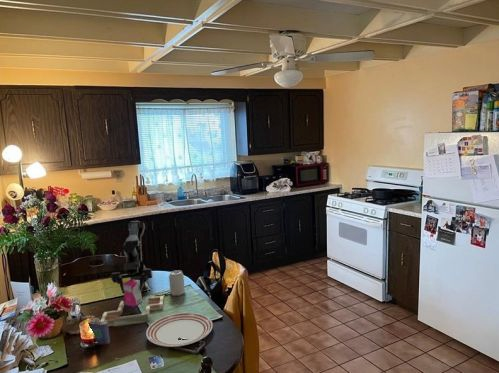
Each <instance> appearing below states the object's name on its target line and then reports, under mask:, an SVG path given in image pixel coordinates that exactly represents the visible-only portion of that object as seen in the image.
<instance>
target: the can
mask: <svg viewBox="0 0 499 373" xmlns="http://www.w3.org/2000/svg"><path fill="white" fill-rule="evenodd" d="M184 277H185V276H184V273H183V271H182V270H180V269H179V270H172V271H170V272H169V275H168V282H169V291H170V295H172V296H173V297H179V296H182V295H183V294H185V292H186V288H185V278H184Z"/></svg>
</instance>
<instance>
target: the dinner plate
mask: <svg viewBox="0 0 499 373" xmlns="http://www.w3.org/2000/svg"><path fill="white" fill-rule="evenodd" d="M213 327H214V326H213V321H212V320H211V319H210V318H209V316H207V315H204V314H202V313H197V312H178V313H172V314H169V315H165V316H163V317H160V318H158V319H156V320H154V322H152V323H151V324H150V325H149V326H148V328H147V329H146V333H145V335H146V336H145V337H146V338H147V339H148V341H149V342H150V343H153V344H155V345H156V346H161V347H166V348H167V347H168V348H171V347H172V348H174V347H175V348H177V347H183V346H187V345H191V344H194V343H196V342H198V341H201V340H202V339H204V338H206V337H207V336H208V335H209V334H210V333H211V331H212V329H213ZM179 337H180V338H186V339H189V340H182V339H181V340H178V338H179Z"/></svg>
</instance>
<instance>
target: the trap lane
mask: <svg viewBox="0 0 499 373" xmlns="http://www.w3.org/2000/svg"><path fill="white" fill-rule="evenodd" d="M147 299H148V300H147V301H148V304H146V307H145V308H146V309H145V313H139V314H138V313H137V314H132V315H125V316H122V314H123V311H124V308H125V300H120V302H119V305H118V308H117V310H110V311H104V312H103V314H102V317H101V318H100V320H99V321H100V322H108V327H121V326H127V325H134V324H141V323H149V322H148V321H149V320H150V316H151V311H150V310H152V311H157V309H159V310H164V302H165V300H164V299H165V298H164V295H157V296H148V298H147Z"/></svg>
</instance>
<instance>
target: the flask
mask: <svg viewBox="0 0 499 373" xmlns="http://www.w3.org/2000/svg"><path fill="white" fill-rule="evenodd" d="M100 321H101V318H100V317H97V318H94V319H92V320H89V321H88V322H87V325H88V324H89V326H90V328H91V329H92V331H93V333H94V335H95V338H96V341H97V342H98V344H97V345H103V346H104V345H109V344H110V343H111V338H110V332H109V331H110V330H109V326H108V322H100Z"/></svg>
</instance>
